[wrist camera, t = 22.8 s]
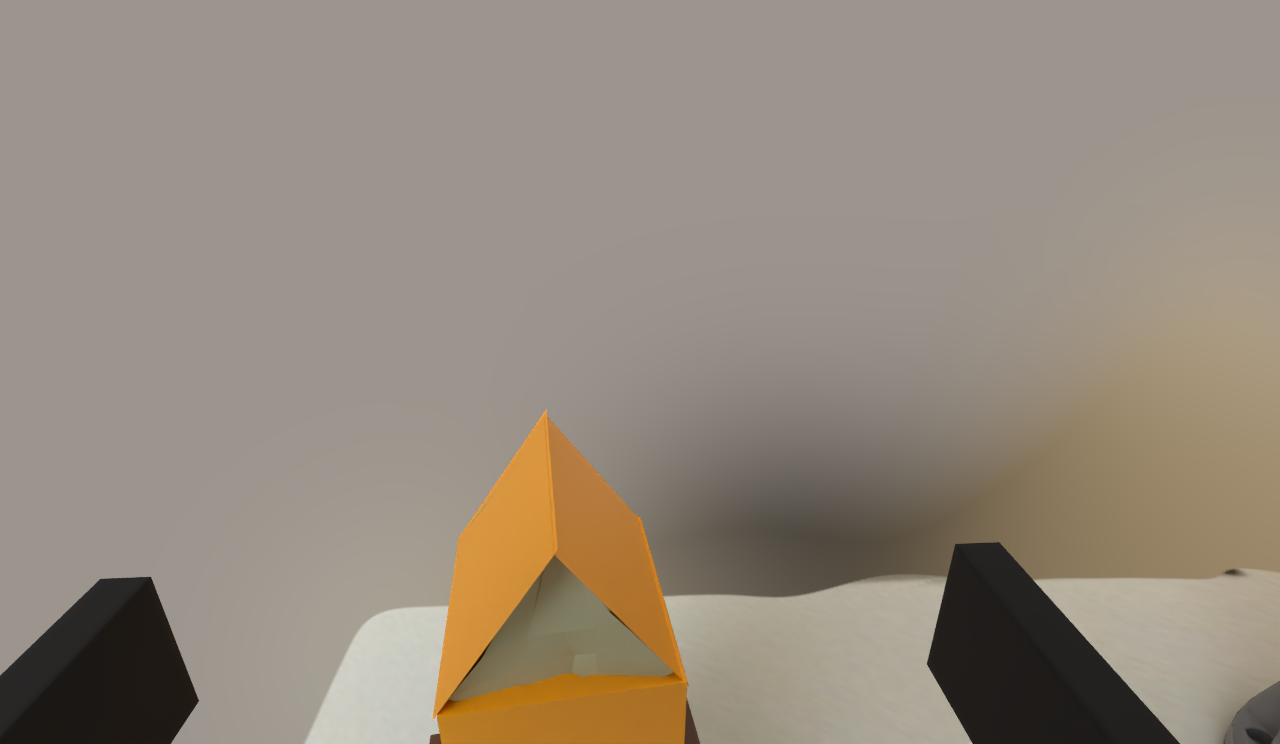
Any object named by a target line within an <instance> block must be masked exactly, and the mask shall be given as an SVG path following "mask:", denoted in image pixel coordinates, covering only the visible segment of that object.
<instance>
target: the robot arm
mask: <svg viewBox="0 0 1280 744" xmlns="http://www.w3.org/2000/svg"><path fill="white" fill-rule="evenodd" d="M927 665H928V667H929V669H930V670H931V672H932V674H933V676H934V677H935V679H936V681H937V682H938V684H939V686H940V688H941V689H942V691H943V693H944V695H945V696H946V698H947V700H948V702H949V703H950V705H951V707H952V708H953V710H954V712H955V714H956V715H957V717H958V719H959V721H960V722H961V724H962V726H963V728H964V729H965V731H966V733H967V734H968V736H969V738H970V740H971V741H972V743H973V744H1180V743H1179V742H1178V741H1177V740H1176V739H1175V738H1174V736H1173V735H1172V734H1171V733H1170V732H1169V731H1168V730H1167V729H1166V728H1165V726H1164V725H1163V724H1162V723H1161V722H1160V721H1159V720H1158V719H1157V717H1156V716H1155V715H1154V714H1153V713H1152V712H1151V711H1150V710H1149V709H1148V707H1147V706H1146V705H1145V704H1144V703H1143V702H1142V701H1141V700H1140V699H1139V697H1138V696H1137V695H1136V694H1135V693H1134V692H1133V691H1132V690H1131V689H1130V687H1129V686H1128V685H1127V684H1126V683H1125V682H1124V681H1123V680H1122V679H1121V677H1120V676H1119V675H1118V674H1117V673H1116V672H1115V671H1114V670H1113V668H1112V667H1111V666H1110V665H1109V664H1108V663H1107V662H1106V661H1105V660H1104V658H1103V657H1102V656H1101V655H1100V654H1099V653H1098V652H1097V651H1096V650H1095V648H1094V647H1093V646H1092V645H1091V644H1090V643H1089V642H1088V641H1087V640H1086V638H1085V637H1084V636H1083V635H1082V634H1081V633H1080V632H1079V631H1078V630H1077V628H1076V627H1075V626H1074V625H1073V624H1072V623H1071V622H1070V621H1069V619H1068V618H1067V617H1066V616H1065V615H1064V614H1063V613H1062V612H1061V611H1060V609H1059V608H1058V607H1057V606H1056V605H1055V604H1054V603H1053V602H1052V601H1051V599H1050V598H1049V597H1048V596H1047V595H1046V594H1045V593H1044V592H1043V591H1042V589H1041V588H1040V587H1039V586H1038V585H1037V584H1036V583H1035V582H1034V581H1033V579H1032V578H1031V577H1030V576H1029V575H1028V574H1027V573H1026V572H1025V570H1024V569H1023V568H1022V567H1021V566H1020V565H1019V564H1018V563H1017V562H1016V561H1015V560H1014V558H1013V557H1012V556H1011V555H1010V554H1009V553H1008V552H1007V551H1006V549H1005V548H1004V547H1003V546H1002V545H1001V544H1000V543H999V542H998V543H972V544H956V545H955V548H954V552H953V557H952V561H951V565H950V569H949V573H948V578H947V582H946V586H945V590H944V594H943V599H942V603H941V607H940V611H939V615H938V620H937V624H936V628H935V632H934V637H933V641H932V645H931V649H930V653H929V658H928V662H927ZM198 702H199V700H198V697H197V695H196V692H195V690H194V687H193V684H192V682H191V679H190V677H189V674H188V672H187V669H186V666H185V664H184V661H183V659H182V656H181V654H180V651H179V649H178V646H177V644H176V641H175V638H174V635H173V633H172V630H171V628H170V625H169V622H168V620H167V618H166V615H165V612H164V610H163V607H162V604H161V602H160V599H159V597H158V594H157V592H156V589H155V586H154V584H153V581H152V579H151V577H137V578H112V579H100V580H99V581H98V582H97V583H96V584H95V585H94V586H93V587H92V588H91V589H90V590H89V591H88V592H86V593H85V594H84V595H83V596H82V597H81V598H80V599H79V600H78V601H77V602H76V603H75V604H74V605H73V606H72V607H71V608H70V609H69V610H68V611H67V612H66V613H65V614H64V615H63V616H62V617H61V618H60V619H58V620H57V621H56V622H55V623H54V624H53V625H52V626H51V627H50V628H49V629H48V630H47V631H46V632H45V633H44V634H43V635H42V636H41V637H40V638H39V639H38V640H37V641H36V642H35V643H34V644H33V645H32V646H31V647H30V648H28V649H27V650H26V651H25V652H24V653H23V654H22V655H21V656H20V657H19V658H18V659H17V660H16V661H15V662H14V663H13V664H12V665H11V666H10V667H9V668H8V669H7V670H6V671H5V672H4V673H2V674H1V676H0V744H171V742H172V741H173V739H174V738H175V736H176V735H177V733H178V732H179V730H180V729H181V727H182V726H183V724H184V723H185V721H186V720H187V718H188V717H189V715H190V714H191V712H192V711H193V709H194V708H195V706H196V705H197V703H198ZM1224 744H1280V681H1279V682H1277V683H1275V684H1274V685H1272V686H1270V687H1269V688H1267V689H1266V690H1264V691H1262V692H1261V693H1259V694H1257V695H1256V696H1254V697H1253V698H1251V699H1250V700H1249V701H1248V702H1247V703H1246V704H1245V705H1244V706H1243V707H1242V708H1241V709H1240V710H1239V711H1238V712H1237V714H1236V716H1235V717H1234V719H1233V721H1232V723H1231V725H1230V727H1229V729H1228V731H1227V733H1226V736H1225V739H1224Z"/></svg>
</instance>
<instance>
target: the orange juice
mask: <svg viewBox="0 0 1280 744" xmlns="http://www.w3.org/2000/svg"><path fill="white" fill-rule="evenodd" d="M687 685H688V682H687V678H686V675H685V671H684V668H683V664H682V661H681V657H680V654H679V650H678V647H677V643H676V640H675V636H674V633H673V629H672V626H671V622H670V619H669V615H668V612H667V608H666V605H665V601H664V598H663V594H662V591H661V587H660V584H659V580H658V577H657V573H656V570H655V567H654V563H653V559H652V556H651V552H650V549H649V545H648V542H647V538H646V535H645V532H644V528H643V524H642V522H641V518H640V516H636V515H635V514H634V513H633V512H632V511H631V509H630V508H629V507H628V506H627V505H626V504H625V503H624V502H623V500H622V499H621V498H620V497H619V496H618V495H617V494H616V493H615V491H614V490H613V489H612V488H611V487H610V486H609V485H608V484H607V482H606V481H605V480H604V479H603V478H602V477H601V476H600V475H599V474H598V472H597V471H596V470H595V469H594V468H593V467H592V466H591V465H590V464H589V462H588V461H587V460H586V459H585V458H584V457H583V456H582V455H581V453H580V452H579V451H578V450H577V449H576V448H575V447H574V446H573V445H572V443H571V442H570V441H569V440H568V439H567V438H566V437H565V436H564V435H563V433H562V432H561V431H560V430H559V429H558V428H557V427H556V426H555V424H554V423H553V422H551V420H550V419H549V418H548V417H547V411H545V412H544V413H543V415H542V416H541V418H540V419H539V421H538V422H537V424H536V425H535V427H534V428H533V430H532V431H531V433H530V434H529V435H528V437H527V438H526V440H525V441H524V443H523V444H522V446H521V447H520V449H519V450H518V452H517V453H516V455H515V456H514V457H513V459H512V460H511V462H510V464H509V465H508V466H507V468H506V469H505V471H504V472H503V474H502V475H501V477H500V478H499V480H498V481H497V482H496V484H495V486H494V487H493V488H492V490H491V491H490V493H489V494H488V496H487V497H486V499H485V500H484V502H483V503H482V505H481V506H480V507H479V509H478V510H477V512H476V513H475V515H474V516H473V518H472V519H471V521H470V522H469V524H468V525H467V526H466V528H465V530H464V531H463V532H462V534H461V535H460V537H459V539H458V546H457V554H456V560H455V567H454V574H453V582H452V588H451V595H450V602H449V609H448V616H447V623H446V630H445V637H444V644H443V651H442V658H441V665H440V672H439V679H438V686H437V693H436V700H435V707H434V714H433V719H434V718H435V716H436V715H437V720H438V726H439V732H440V738H441V744H684V742H685V719H686V696H687ZM688 686H689V685H688Z"/></svg>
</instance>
